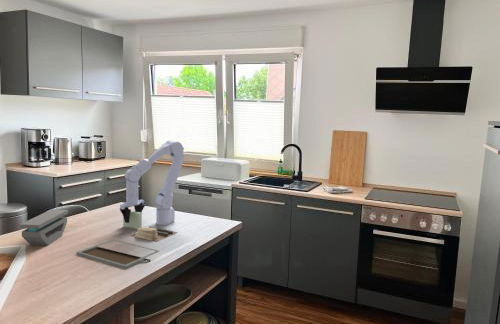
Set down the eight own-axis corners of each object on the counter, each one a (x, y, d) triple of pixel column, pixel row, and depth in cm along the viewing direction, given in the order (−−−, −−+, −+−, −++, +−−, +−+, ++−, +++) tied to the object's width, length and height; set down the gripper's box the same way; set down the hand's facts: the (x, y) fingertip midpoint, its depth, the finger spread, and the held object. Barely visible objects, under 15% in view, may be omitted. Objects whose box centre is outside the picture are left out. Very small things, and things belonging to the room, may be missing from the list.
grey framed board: (113, 239, 171) (165, 252, 157) (113, 242, 171) (165, 255, 157) (76, 252, 154) (131, 267, 140) (76, 255, 154) (131, 272, 140)
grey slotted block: (52, 231, 182) (51, 209, 180) (68, 232, 182) (68, 209, 180) (20, 250, 157) (19, 224, 156) (39, 250, 157) (38, 225, 156)
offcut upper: (142, 230, 178) (142, 226, 177) (156, 233, 175) (156, 228, 175) (137, 233, 174) (137, 229, 174) (151, 235, 171) (151, 231, 171)
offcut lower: (142, 234, 179) (142, 230, 179) (157, 237, 175) (157, 233, 175) (135, 236, 175) (135, 232, 175) (150, 240, 171) (150, 235, 171)
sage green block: (126, 227, 192) (126, 209, 191) (141, 230, 188) (141, 212, 187) (123, 228, 191) (123, 210, 189) (138, 231, 186) (138, 213, 185)
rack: (151, 229, 190) (151, 224, 190) (178, 234, 183) (178, 230, 183) (128, 238, 176) (128, 233, 176) (156, 244, 169) (156, 239, 169)
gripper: (127, 197, 179) (128, 225, 181) (148, 192, 192) (148, 218, 194) (116, 195, 182) (116, 223, 184) (137, 190, 195) (138, 216, 197)
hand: (132, 220), depth 189 cm, fingers open, 7 cm apart
